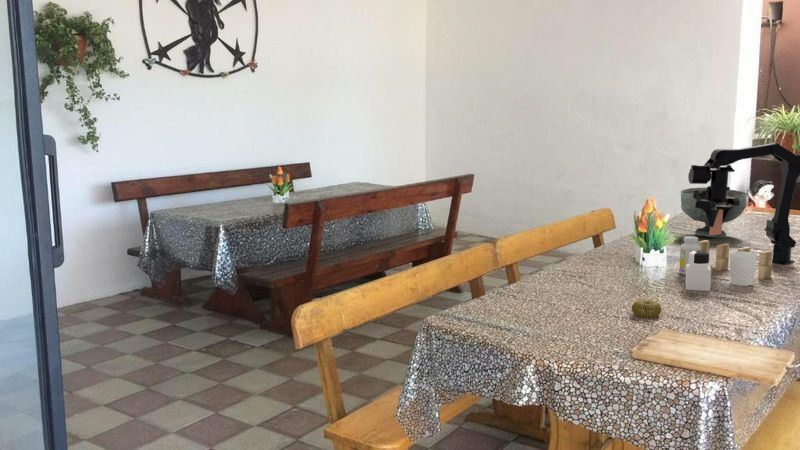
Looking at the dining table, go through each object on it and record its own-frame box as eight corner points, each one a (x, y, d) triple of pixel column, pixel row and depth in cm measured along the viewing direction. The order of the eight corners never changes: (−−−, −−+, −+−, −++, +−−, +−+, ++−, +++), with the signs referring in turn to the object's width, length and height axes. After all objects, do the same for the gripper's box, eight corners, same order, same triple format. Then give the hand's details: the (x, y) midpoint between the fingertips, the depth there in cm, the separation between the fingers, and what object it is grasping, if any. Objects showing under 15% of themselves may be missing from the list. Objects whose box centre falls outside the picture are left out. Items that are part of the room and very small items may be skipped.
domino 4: (744, 272, 258) (746, 246, 257) (749, 272, 257) (750, 247, 255) (736, 274, 256) (737, 248, 254) (740, 275, 254) (741, 249, 253)
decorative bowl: (748, 233, 329) (751, 188, 325) (739, 243, 307) (742, 195, 304) (686, 229, 343) (688, 186, 339) (673, 238, 321) (675, 192, 318)
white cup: (757, 287, 238) (759, 256, 236) (731, 286, 240) (733, 256, 238) (751, 281, 246) (753, 251, 244) (726, 280, 247) (727, 251, 246)
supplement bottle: (702, 273, 258) (704, 237, 256) (695, 276, 253) (697, 239, 251) (683, 270, 263) (685, 234, 260) (676, 274, 258) (677, 237, 256)
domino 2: (717, 233, 274) (719, 209, 273) (721, 233, 273) (723, 209, 272) (709, 234, 272) (710, 210, 270) (713, 235, 270) (714, 210, 269)
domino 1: (704, 264, 271) (705, 240, 270) (708, 265, 270) (709, 240, 269) (695, 266, 269) (696, 241, 267) (699, 266, 267) (700, 242, 266)
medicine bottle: (708, 286, 240) (710, 250, 238) (710, 291, 234) (712, 254, 232) (685, 284, 243) (686, 249, 241) (686, 290, 236) (687, 253, 234)
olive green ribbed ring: (647, 297, 215) (667, 303, 208) (647, 310, 216) (667, 317, 208) (625, 300, 212) (645, 307, 205) (625, 314, 213) (645, 321, 205)
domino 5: (766, 276, 251) (768, 250, 250) (771, 277, 250) (772, 251, 249) (758, 278, 249) (759, 252, 247) (762, 279, 248) (764, 253, 246)
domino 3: (724, 268, 265) (725, 243, 263) (728, 268, 263) (729, 244, 262) (715, 270, 262) (716, 245, 261) (719, 270, 261) (720, 245, 259)
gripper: (714, 180, 281) (712, 220, 284) (683, 183, 271) (680, 225, 274) (742, 183, 272) (738, 225, 274) (710, 186, 262) (707, 229, 264)
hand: (715, 226), depth 272 cm, fingers closed on domino 2, 5 cm apart
